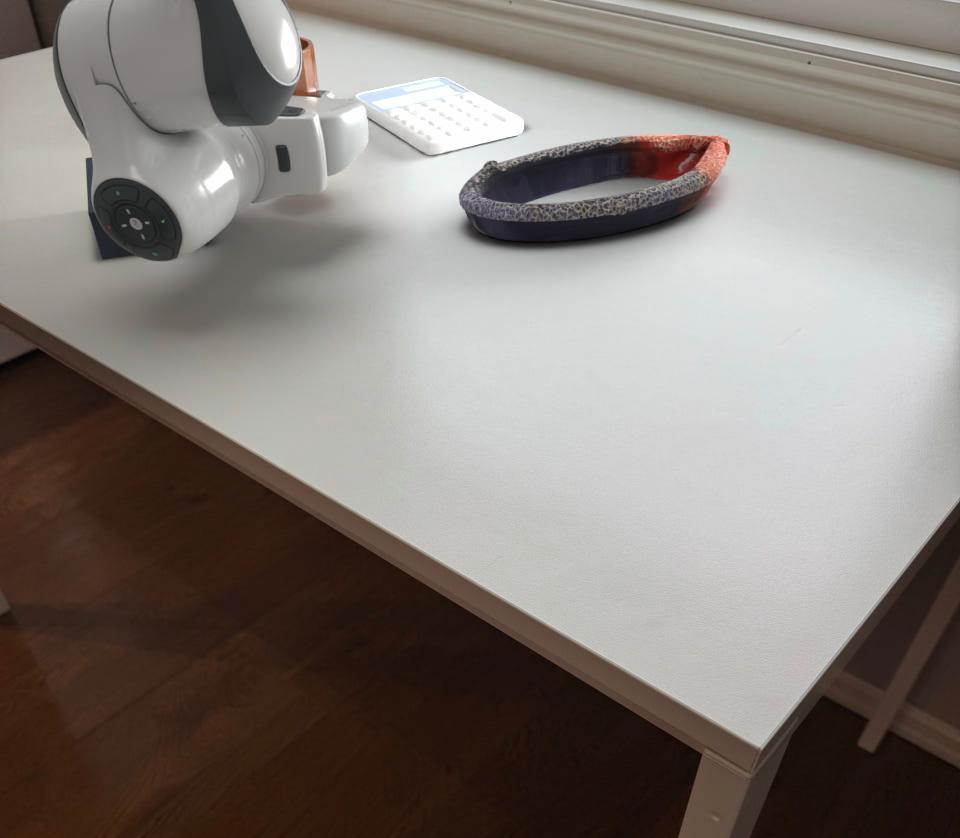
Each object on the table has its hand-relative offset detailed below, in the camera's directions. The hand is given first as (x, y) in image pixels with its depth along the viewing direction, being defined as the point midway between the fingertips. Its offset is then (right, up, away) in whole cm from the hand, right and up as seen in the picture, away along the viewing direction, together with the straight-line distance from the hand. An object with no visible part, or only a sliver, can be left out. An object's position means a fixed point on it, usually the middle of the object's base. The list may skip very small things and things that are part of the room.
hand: (289, 96), depth 93 cm
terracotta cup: (0, -4, +3) cm, 6 cm away
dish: (+31, -9, +5) cm, 32 cm away
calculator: (+13, +10, +24) cm, 29 cm away
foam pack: (-15, -11, +4) cm, 19 cm away
